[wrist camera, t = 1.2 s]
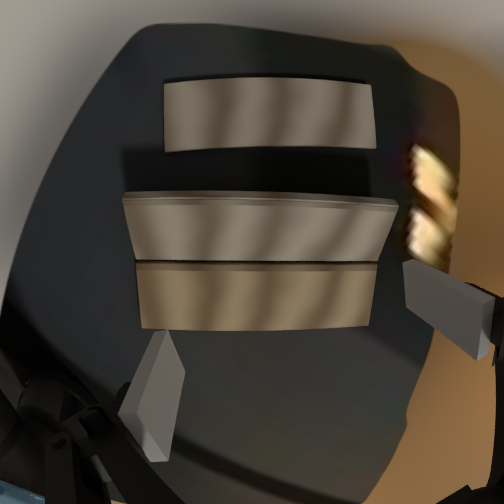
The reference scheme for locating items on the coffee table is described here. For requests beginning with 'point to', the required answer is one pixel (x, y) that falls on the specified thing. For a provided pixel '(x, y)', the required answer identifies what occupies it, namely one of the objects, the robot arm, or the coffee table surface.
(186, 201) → the board
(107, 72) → the coffee table surface
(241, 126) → the plank
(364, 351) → the coffee table surface
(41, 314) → the coffee table surface
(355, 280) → the laid board
